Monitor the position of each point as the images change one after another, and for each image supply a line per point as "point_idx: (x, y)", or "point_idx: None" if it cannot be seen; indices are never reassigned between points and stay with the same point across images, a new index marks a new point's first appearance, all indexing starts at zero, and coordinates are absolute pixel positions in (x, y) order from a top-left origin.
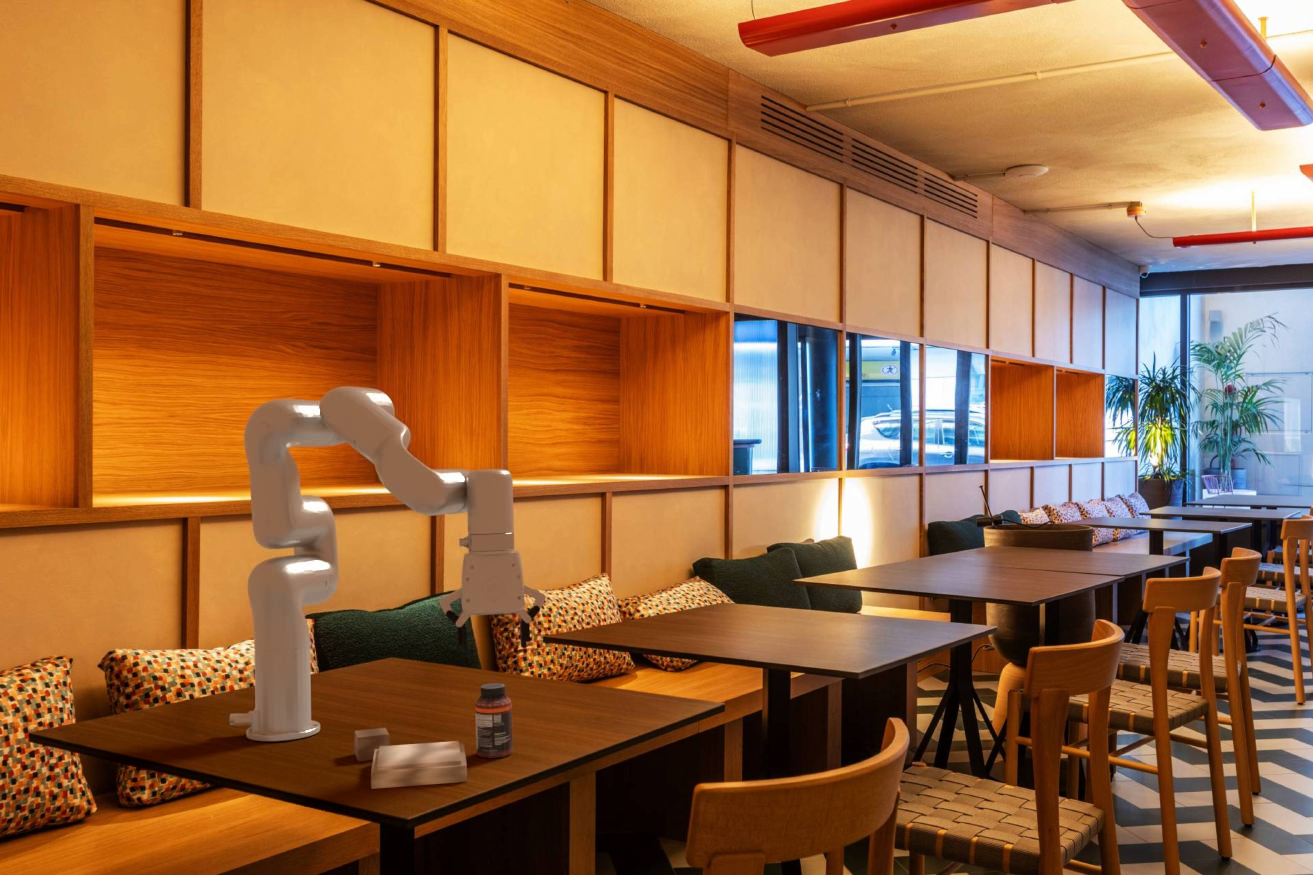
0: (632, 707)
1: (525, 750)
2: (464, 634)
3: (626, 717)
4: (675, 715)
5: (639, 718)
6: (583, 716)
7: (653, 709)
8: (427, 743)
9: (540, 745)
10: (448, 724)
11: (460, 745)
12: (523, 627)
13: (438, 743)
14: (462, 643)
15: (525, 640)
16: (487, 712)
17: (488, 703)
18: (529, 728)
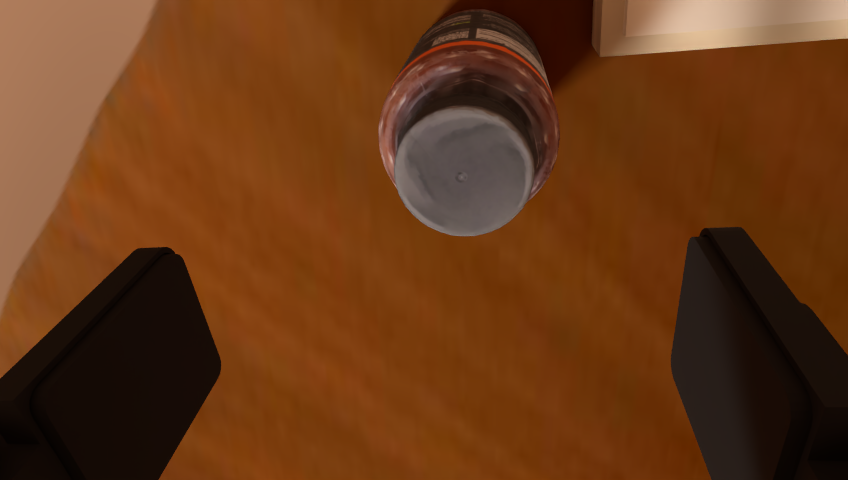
0: None
1: (368, 108)
2: (787, 332)
3: None
4: None
5: None
6: (239, 429)
7: None
8: (769, 18)
9: (323, 163)
10: (605, 445)
11: (616, 18)
12: (39, 365)
13: (720, 8)
14: (769, 265)
15: (112, 276)
16: (499, 45)
17: (492, 64)
18: (373, 356)
